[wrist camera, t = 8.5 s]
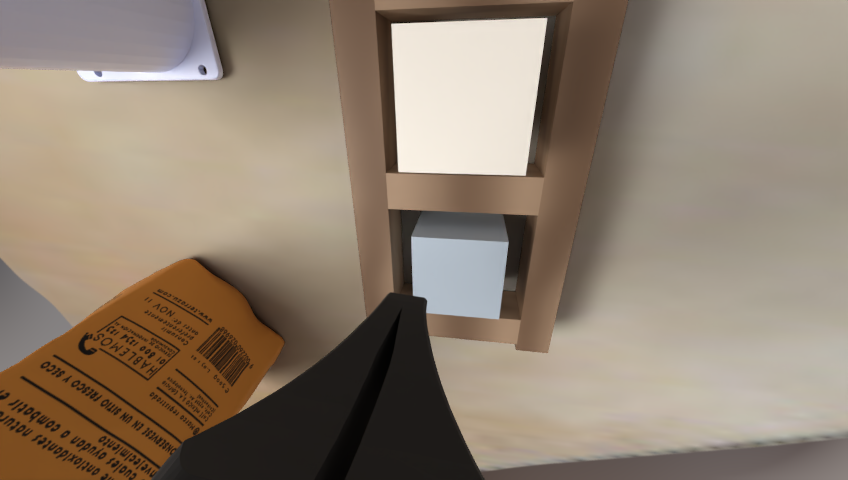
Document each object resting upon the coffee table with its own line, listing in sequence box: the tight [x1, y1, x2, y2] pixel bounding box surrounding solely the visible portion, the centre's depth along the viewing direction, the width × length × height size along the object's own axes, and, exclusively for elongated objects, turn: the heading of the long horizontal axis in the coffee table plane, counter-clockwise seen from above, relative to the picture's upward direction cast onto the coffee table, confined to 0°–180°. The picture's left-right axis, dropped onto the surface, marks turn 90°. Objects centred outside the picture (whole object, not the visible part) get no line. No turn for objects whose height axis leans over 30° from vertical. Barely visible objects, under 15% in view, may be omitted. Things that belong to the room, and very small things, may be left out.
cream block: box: [391, 18, 547, 176], centre depth 13 cm, size 5×5×4 cm
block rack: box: [329, 0, 628, 353], centre depth 16 cm, size 12×30×3 cm, turn 1°
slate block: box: [411, 210, 509, 319], centre depth 19 cm, size 5×5×4 cm
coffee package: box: [0, 259, 285, 480], centre depth 18 cm, size 10×12×22 cm
